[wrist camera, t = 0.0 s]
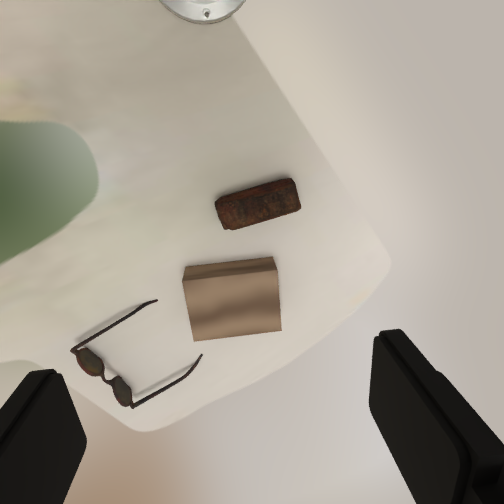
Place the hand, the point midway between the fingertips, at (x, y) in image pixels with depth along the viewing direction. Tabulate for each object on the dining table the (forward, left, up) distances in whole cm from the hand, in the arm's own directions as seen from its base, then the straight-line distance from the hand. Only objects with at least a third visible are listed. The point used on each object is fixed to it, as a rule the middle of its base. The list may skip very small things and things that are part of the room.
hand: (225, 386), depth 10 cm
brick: (+3, +4, -37) cm, 37 cm away
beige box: (+17, 0, -37) cm, 41 cm away
